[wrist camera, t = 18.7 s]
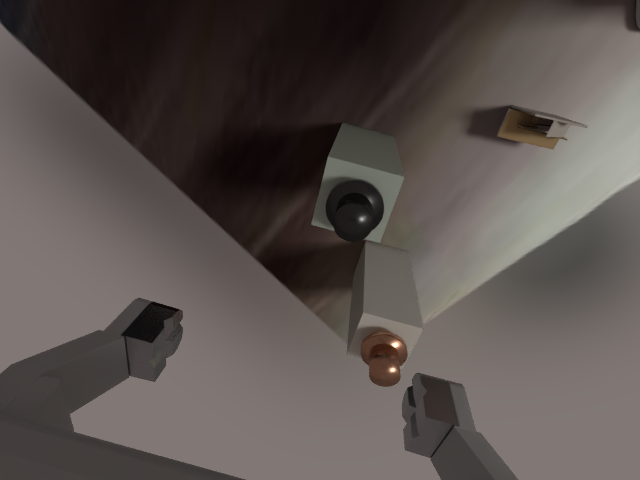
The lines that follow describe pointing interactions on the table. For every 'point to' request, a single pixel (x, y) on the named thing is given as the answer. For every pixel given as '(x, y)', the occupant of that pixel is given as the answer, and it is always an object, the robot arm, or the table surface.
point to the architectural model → (519, 122)
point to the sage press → (361, 170)
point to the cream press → (383, 297)
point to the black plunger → (354, 209)
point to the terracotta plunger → (384, 357)
